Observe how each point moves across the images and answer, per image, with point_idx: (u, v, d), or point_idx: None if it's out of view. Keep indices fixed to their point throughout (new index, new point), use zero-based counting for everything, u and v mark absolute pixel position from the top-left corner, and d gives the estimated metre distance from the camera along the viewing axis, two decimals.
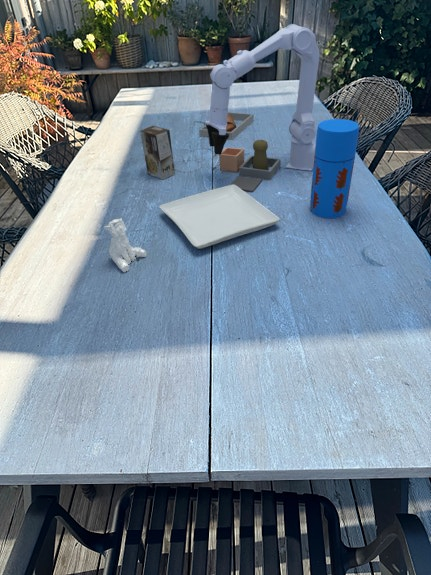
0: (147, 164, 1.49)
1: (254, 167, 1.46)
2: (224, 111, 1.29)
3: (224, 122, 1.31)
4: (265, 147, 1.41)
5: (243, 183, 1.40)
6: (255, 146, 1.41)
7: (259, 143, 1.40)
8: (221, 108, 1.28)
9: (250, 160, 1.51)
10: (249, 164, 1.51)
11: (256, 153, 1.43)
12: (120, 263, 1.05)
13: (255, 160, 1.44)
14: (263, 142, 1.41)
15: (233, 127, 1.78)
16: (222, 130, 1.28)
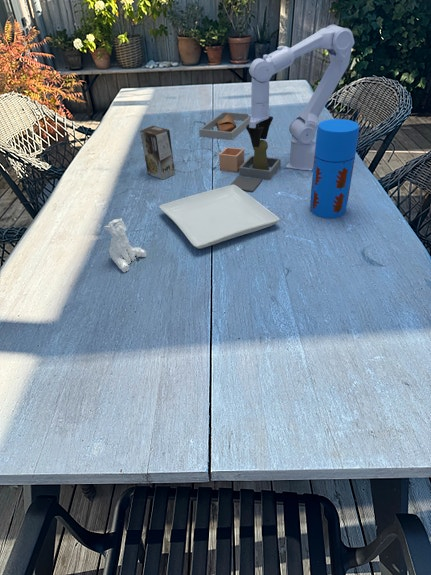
0: (147, 164, 1.49)
1: (254, 167, 1.46)
2: (260, 105, 1.31)
3: (262, 115, 1.33)
4: (265, 147, 1.41)
5: (243, 183, 1.40)
6: None
7: None
8: (262, 101, 1.31)
9: (250, 160, 1.51)
10: (249, 164, 1.51)
11: (256, 153, 1.43)
12: (120, 263, 1.05)
13: (255, 160, 1.44)
14: (263, 142, 1.41)
15: (233, 127, 1.78)
16: (251, 123, 1.31)
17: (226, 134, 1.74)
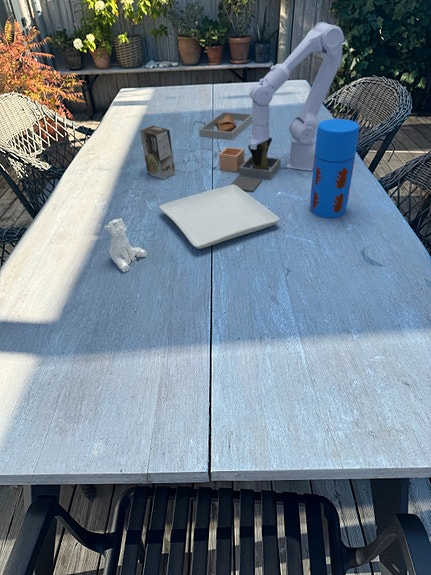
0: (147, 164, 1.49)
1: (254, 167, 1.46)
2: (261, 127, 1.36)
3: (262, 137, 1.38)
4: (265, 147, 1.41)
5: (243, 183, 1.40)
6: None
7: None
8: (262, 124, 1.35)
9: (250, 160, 1.51)
10: (249, 164, 1.51)
11: None
12: (120, 263, 1.05)
13: None
14: (263, 142, 1.41)
15: (233, 127, 1.78)
16: (252, 145, 1.36)
17: (226, 134, 1.74)
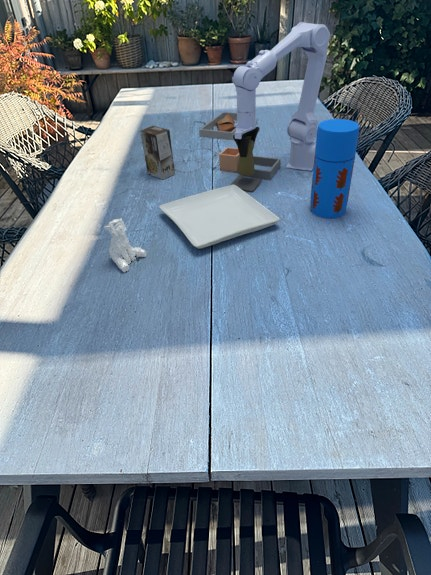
0: (147, 164, 1.49)
1: (239, 167, 1.37)
2: (246, 114, 1.24)
3: (248, 126, 1.26)
4: (251, 147, 1.31)
5: (243, 183, 1.40)
6: None
7: None
8: (251, 110, 1.24)
9: None
10: None
11: None
12: (120, 263, 1.05)
13: (240, 160, 1.35)
14: (249, 141, 1.31)
15: (233, 127, 1.78)
16: (237, 134, 1.24)
17: (226, 134, 1.74)
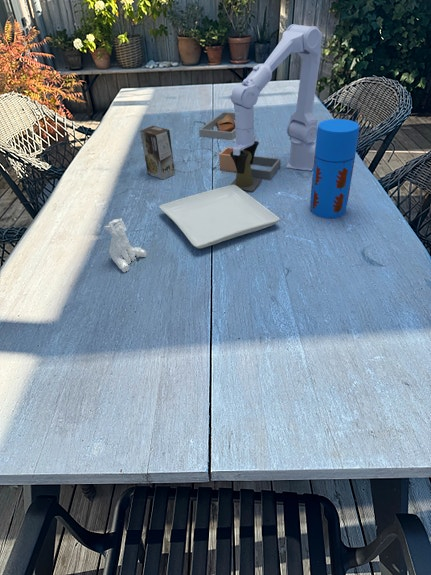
0: (147, 164, 1.49)
1: (237, 179, 1.38)
2: (244, 131, 1.26)
3: (246, 142, 1.28)
4: (248, 158, 1.33)
5: None
6: None
7: None
8: (249, 127, 1.26)
9: None
10: None
11: None
12: (120, 263, 1.05)
13: None
14: None
15: (233, 127, 1.78)
16: (235, 150, 1.26)
17: (226, 134, 1.74)
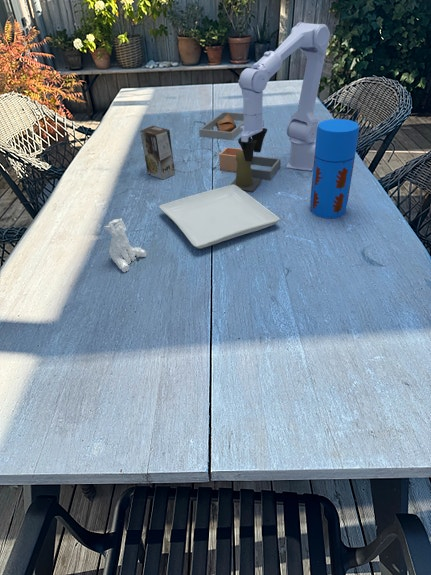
0: (147, 164, 1.49)
1: (237, 179, 1.38)
2: (253, 117, 1.22)
3: (255, 128, 1.25)
4: None
5: None
6: (237, 157, 1.33)
7: (241, 154, 1.32)
8: (259, 113, 1.22)
9: None
10: None
11: (239, 164, 1.35)
12: (120, 263, 1.05)
13: (238, 172, 1.36)
14: None
15: (233, 127, 1.78)
16: (243, 137, 1.22)
17: (226, 134, 1.74)
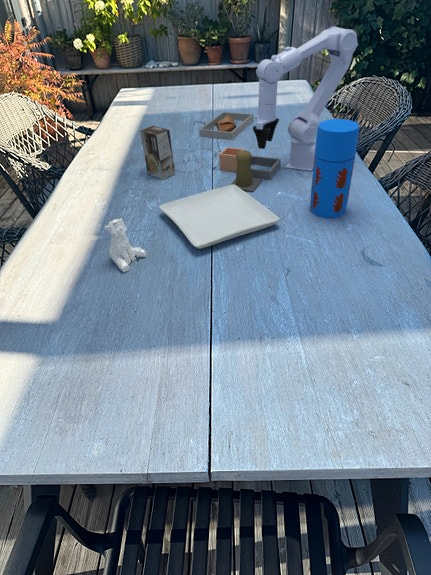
0: (147, 164, 1.49)
1: (237, 179, 1.38)
2: (268, 106, 1.30)
3: (269, 117, 1.32)
4: (248, 158, 1.33)
5: None
6: (237, 157, 1.33)
7: (241, 154, 1.32)
8: (271, 103, 1.29)
9: None
10: None
11: (239, 164, 1.35)
12: (120, 263, 1.05)
13: (238, 172, 1.36)
14: (246, 153, 1.32)
15: (233, 127, 1.78)
16: (258, 124, 1.30)
17: (226, 134, 1.74)
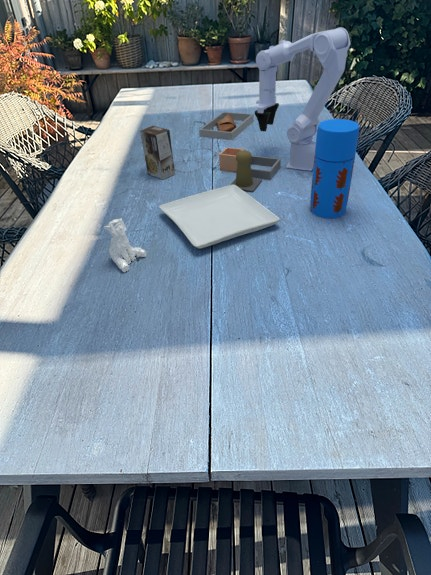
0: (147, 164, 1.49)
1: (237, 179, 1.38)
2: (268, 91, 1.42)
3: (269, 102, 1.45)
4: (248, 158, 1.33)
5: None
6: (237, 157, 1.33)
7: (241, 154, 1.32)
8: (262, 88, 1.43)
9: None
10: None
11: (239, 164, 1.35)
12: (120, 263, 1.05)
13: (238, 172, 1.36)
14: (246, 153, 1.32)
15: (233, 127, 1.78)
16: (259, 109, 1.43)
17: (226, 134, 1.74)
